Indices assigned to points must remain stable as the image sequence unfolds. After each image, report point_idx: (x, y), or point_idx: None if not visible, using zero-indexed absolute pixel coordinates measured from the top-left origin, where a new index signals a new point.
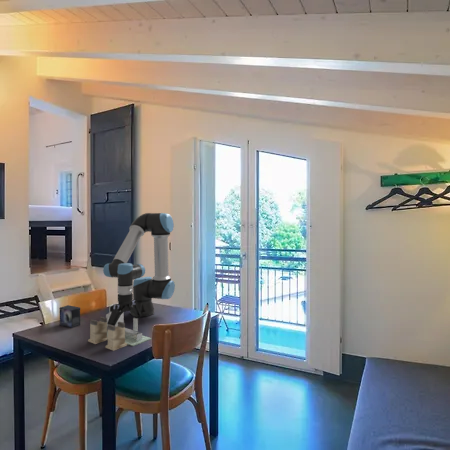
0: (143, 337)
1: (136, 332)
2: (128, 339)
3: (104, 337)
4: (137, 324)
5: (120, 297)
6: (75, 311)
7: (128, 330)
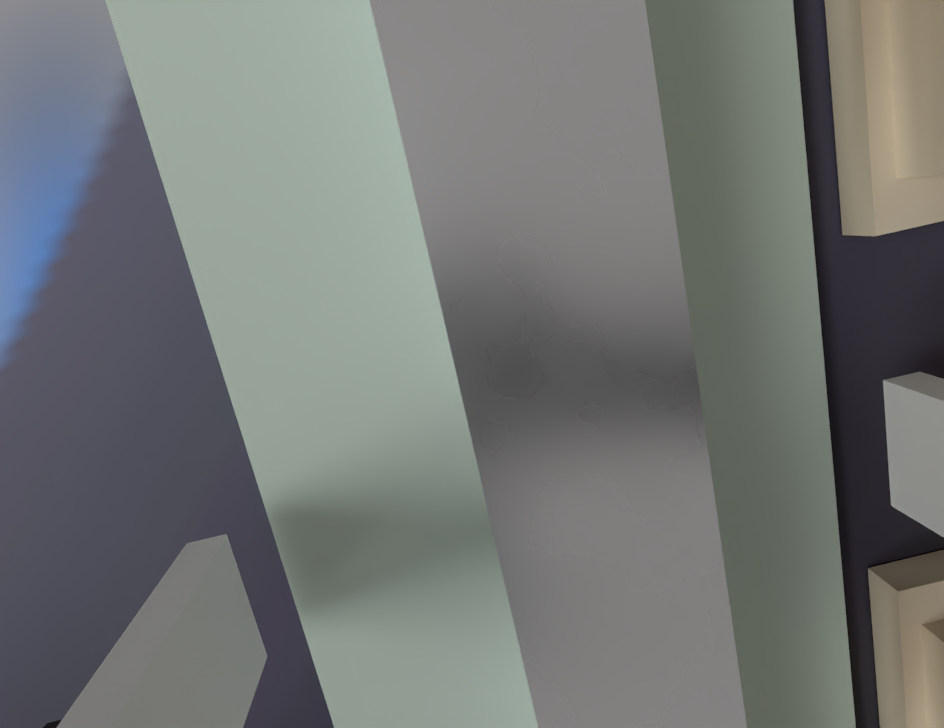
0: (241, 78)
1: (485, 29)
2: None
3: None
4: (112, 664)
5: None
6: None
7: (584, 433)
